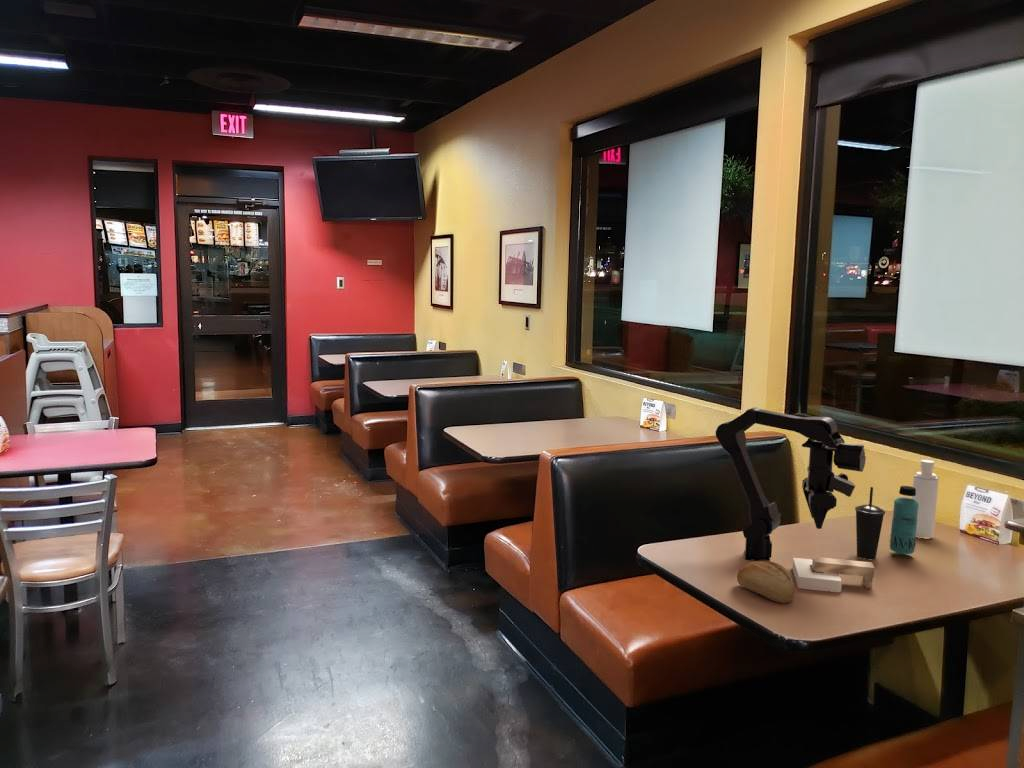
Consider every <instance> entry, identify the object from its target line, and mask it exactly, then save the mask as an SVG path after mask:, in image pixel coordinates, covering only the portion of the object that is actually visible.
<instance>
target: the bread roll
mask: <svg viewBox="0 0 1024 768" xmlns="http://www.w3.org/2000/svg"><path fill="white" fill-rule="evenodd" d="M736 581H737V583H738V584H739V586H741V587H743V588H745V589H747V590H750V591H752V592H754V593H757V594H758V595H761V596H762V597H765V598H767V599H769V600H771V601H773V602H775V601H776V602H775V603H779V602H781V603H780V604H787V602H788V603H790V602H792V600H793V599H794V596H795V586H794V583H793V579H792V577H791V574H790V573H789V571H788V570H787V569H786V568H785V567H784V566H782V565H781V564H779V563H777V562H774V561H771V560H770V561H767V560H760V561H752V562H749V563H747V564H746V565H743V566H742V567H741V568H740V569H739V571H738V573H737V574H736Z"/></svg>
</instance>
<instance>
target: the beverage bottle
mask: <svg viewBox="0 0 1024 768" xmlns="http://www.w3.org/2000/svg"><path fill="white" fill-rule="evenodd" d="M898 493H899V494H900V495H902V496H898V497H897V498H896V499H894V501H893V512H892V520H891V528H890V531H891V532H890V536H889V537H890V539H889V549H890V550H891V551H892V552H894V553H897V554H898V553H899V554H902V555H912V554H913V553H914V552H915V550H916V540H917V538H916V529H917V517H918V507H919V503H918V502H917V501H916V500H915V499H913V498H912V496H915V495H916V489H915V488H914V487H913V486H910V485H902V486H900V487H899V491H898Z"/></svg>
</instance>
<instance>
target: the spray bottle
mask: <svg viewBox="0 0 1024 768" xmlns="http://www.w3.org/2000/svg"><path fill="white" fill-rule="evenodd" d="M934 468H935V461H934V460H929V459H920V471H917V472H916V473H915V474H913V478H912V479H913V480H912V481H913V482H912V487H914V488H915V489H916V495H915V496H911V498H913V499H915V500H916V501H917V502H918V503H919V507H918V517H917V529H916V536H918V537H933V538H934V536H935V522H936V511H937V501H938V492H939V481H940V480H939V478H940V477H939V476H938V475H937V474H936V473H933V469H934Z"/></svg>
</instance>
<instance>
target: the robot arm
mask: <svg viewBox="0 0 1024 768" xmlns="http://www.w3.org/2000/svg"><path fill="white" fill-rule="evenodd" d="M755 424H757V425H761V426H766V427H772V428H777V429H780V430H785V431H791V432H795V433H798V434H799V435H802V436H804V438H807V440H806V441H805V442H804V443H802V444H801V447H802V448H808V449H809V458H808V466H807V468H806V469H807V470H806V471H807V477H805V478H803V480H802V484H801V487H802V492H803V495H804V498H805V501H806V503H807V507H808V509H809V513H810V517H811V518H812V519H813V522H814V524H815V527H816V529H818V530H820V529H822V527H823V525H824V521H825V519H826V517H827V514H828V512H829V511H831V510H832V509H835V508H836V507H837V502H838V501H837V497H836V496H835V494H833V493H834V492H835V491H836V492H839V493H841V494H843V495H845V497H848V498H850V497H851V496H852V494H853V492H854V491H855V488H856V485H855V484H854V482H853V481H851V480H849V476H848V475H847V474H845V473H842V472H841V473H839V474H837V475H835V472H834V471H833V464H834V466H836V467H837V468H838V469H840V470H841V469H842V470H846V471H847V470H848V471H855V472H861V473H862V472H863V471H864V469H865V465H866V459H867V458H866V457H867V456H866V454H865V445H864V444H859V443H858V444H855V443H854V444H853V443H848V442H847V443H846V441H845V440H844V438H843V437H842V435H841V434H840V432H839V431H838V425H837V422H835V420H834V419H833V418H831V417H828V416H797V415H792V414H788V413H781V412H777V411H773V410H772V411H771V410H766V409H762V408H759V407H752V408H749V409H747V410H745V411H744V412H743V413H742V414H741V415H739V416H737V417H735V418H734V419H732V420H729V421H727V422H724V423H721V424H719V425H718V426H717V427H716V430H715V438H716V439H717V441H718V442H719V444H720V446H721V448H722V449H723V450H724V451H725V452H726V453H727V454H728V456H730V459H731V461H732V464H733V466H734V469H735V472H736V474H737V476H738V479H739V481H740V484H741V486H742V488H743V491H744V493H745V497H746V499H747V501H748V504H749V519H750V523H751V524H749V525H748V526H747V527H745V528H743V530H742V534H743V537H744V539H745V543H744V550H743V554H744V560H747V561H754V562H756V561H760V560H767V561H771V560H770V559H772V551H773V550H772V549H773V542H772V541H771V536H770V535H771V534H773V531H775V530H776V529H777V528H778V527H779V526H780V524H781V516H782V514H781V512H780V511H779V509H778V505H777V502H776V501H773V502H770V501H769V500H768V498H767V497H766V496H765V493H764V491H763V489H762V486H761V483H760V480H759V478H758V475H757V474H756V471H755V469H754V466H753V463H752V461H751V459H750V456H749V454H748V451H747V436H746V432H747V430H748V429H750V428H751V427H753V426H754V425H755Z"/></svg>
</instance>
